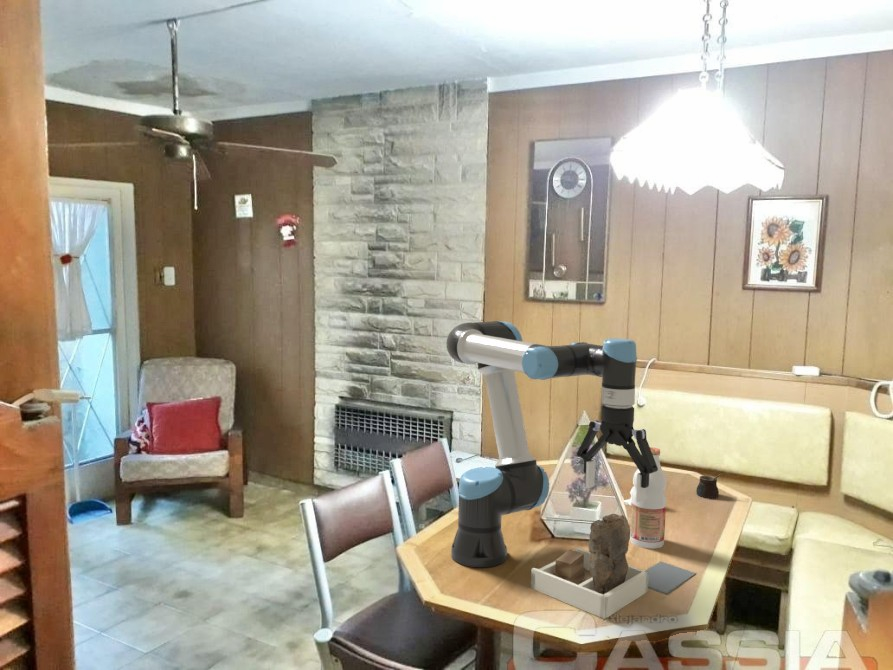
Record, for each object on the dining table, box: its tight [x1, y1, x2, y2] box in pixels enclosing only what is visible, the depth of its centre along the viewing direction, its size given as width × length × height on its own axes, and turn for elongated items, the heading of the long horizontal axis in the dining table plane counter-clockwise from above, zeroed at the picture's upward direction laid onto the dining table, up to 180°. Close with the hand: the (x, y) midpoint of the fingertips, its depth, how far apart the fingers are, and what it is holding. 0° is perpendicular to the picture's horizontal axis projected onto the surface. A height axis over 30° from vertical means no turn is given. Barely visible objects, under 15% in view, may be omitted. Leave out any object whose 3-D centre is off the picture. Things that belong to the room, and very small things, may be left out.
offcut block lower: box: [554, 567, 586, 585], centre depth 178 cm, size 4×8×4 cm, turn 136°
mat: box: [644, 561, 697, 595], centre depth 181 cm, size 10×16×1 cm, turn 135°
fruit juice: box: [629, 446, 667, 550], centre depth 202 cm, size 9×9×28 cm
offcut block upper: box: [555, 549, 584, 578], centre depth 178 cm, size 4×8×4 cm, turn 145°
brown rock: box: [587, 513, 631, 594], centre depth 169 cm, size 14×5×20 cm, turn 134°
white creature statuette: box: [624, 480, 635, 507], centre depth 232 cm, size 10×9×12 cm
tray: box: [530, 546, 649, 620], centre depth 174 cm, size 21×19×5 cm
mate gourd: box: [695, 473, 722, 500], centre depth 242 cm, size 7×8×10 cm
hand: (614, 493), depth 167 cm, fingers open, 13 cm apart
